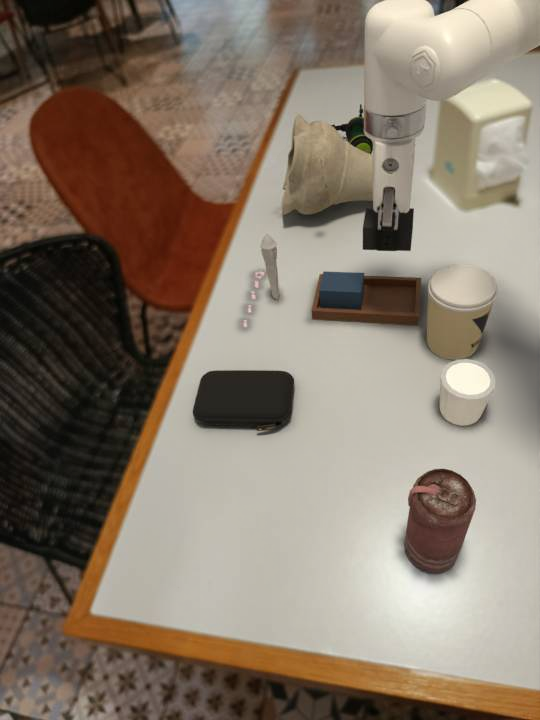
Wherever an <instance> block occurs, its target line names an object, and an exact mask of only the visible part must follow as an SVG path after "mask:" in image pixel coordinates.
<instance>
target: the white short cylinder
mask: <svg viewBox="0 0 540 720" xmlns="http://www.w3.org/2000/svg"><path fill="white" fill-rule="evenodd" d="M439 379H440V380H439V383H440V384H439V410H440V414H441V415H442V416H443V418H444V419H445V420H446V421H447V422H449V423H451V424H452V425H455V426H456V425H457V426H459V427H460V426H461V427H463V426H464V427H465V426H472V425H473V424H475V423H477V422H478V421H479V419H480V418H481V417H482V415H483V413H484V411H485V409H486V407H487V406H488V405H487V404H488V402H489V400H490V398H491V397H492V394H493V392H494V390H495V386H496V382H497V380H496V377H495V374H494V371H492V370H491V369H490V367H488V366H487V364H484V363H483V362H480V361H478V360H474V359H470V358H464V359H460V360H452V361H450V362H448V363H447V364H446V365H445V366H444V367H443V368H442V370H441V373H440V376H439Z"/></svg>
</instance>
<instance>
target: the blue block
mask: <svg viewBox="0 0 540 720" xmlns="http://www.w3.org/2000/svg"><path fill="white" fill-rule="evenodd" d="M322 274H323V275H322V280H321V284H320V288H319V297H320V308H332V309H352V310H361V308H362V301H363V294H364V276H365V273H364V272H350V271H323V272H322Z"/></svg>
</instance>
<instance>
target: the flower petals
mask: <svg viewBox="0 0 540 720" xmlns="http://www.w3.org/2000/svg"><path fill="white" fill-rule="evenodd" d="M265 274H266V273H265V272H264V271H262V270H259V271H256V272H255V273H254V278H255V279H258V280H254V288H255V289H257V290H258V289H259V288H260V281H259V280H261V279H262V278H263V277H264V278H265ZM259 275H260V276H259ZM250 294H251V300H256V299H257V297H256V291H253V290H251V292H250ZM247 307H248V308H247V313H248V314H251V313H252V312H253V311H252V305H251V304H249V305H247ZM243 328H245V329H247V328H248V320H247V319H243Z"/></svg>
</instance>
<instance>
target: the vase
mask: <svg viewBox="0 0 540 720" xmlns="http://www.w3.org/2000/svg"><path fill="white" fill-rule="evenodd" d="M331 125H332V124H329V123H328V122H326V121H322V120H315V121H312V122H308V121H307V120H306V119H305V118H304V116H302V114H300V113H298V112H297V113H296V116H295V118H294V122H293V126H292V131H291V146H290V149H289V152H288V155H287V165H286V173H285V177H284V180H283V181H284V182H283V185H282V190H284V192H283V195H282V198H281V214H282V215H283V216H284V215H287V214H289V213H290V212H292V211H294V210H297V212H299V214H302V215H314V214H317V213H320V212H322V211H323V210H325V209H327V208H329V207H331V206H332V205H334V206H335V205H338V204H341V203H348V202H353V201H355V202H356V201H366V202H367V201H369V202H373V182H372V163H373V153H372V154H369V153H366V152H364V151H362V150H360V149H358V148H356V147H354V146H352V145H351V144H350V143H349V142H348V140H345V139H344V137H343V136H342V135H341V134H340V133H339V130H338V131H337V130H336V129H335V128H334V127H332V126H331Z"/></svg>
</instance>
